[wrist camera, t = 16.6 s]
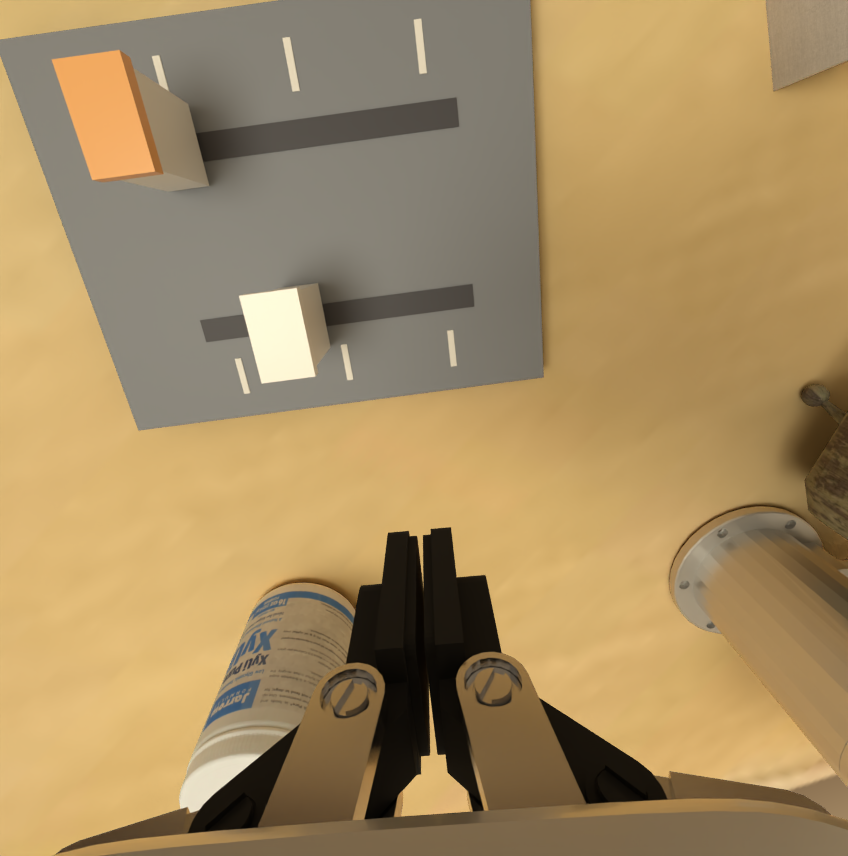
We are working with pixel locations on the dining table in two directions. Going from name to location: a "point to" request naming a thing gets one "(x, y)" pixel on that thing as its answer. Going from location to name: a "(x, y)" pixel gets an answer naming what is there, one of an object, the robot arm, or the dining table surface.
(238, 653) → the supplement tub
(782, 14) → the tea bag
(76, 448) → the dining table surface
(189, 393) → the panel
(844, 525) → the tabletop clock
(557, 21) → the dining table surface
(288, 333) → the fader cream
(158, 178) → the fader orange
